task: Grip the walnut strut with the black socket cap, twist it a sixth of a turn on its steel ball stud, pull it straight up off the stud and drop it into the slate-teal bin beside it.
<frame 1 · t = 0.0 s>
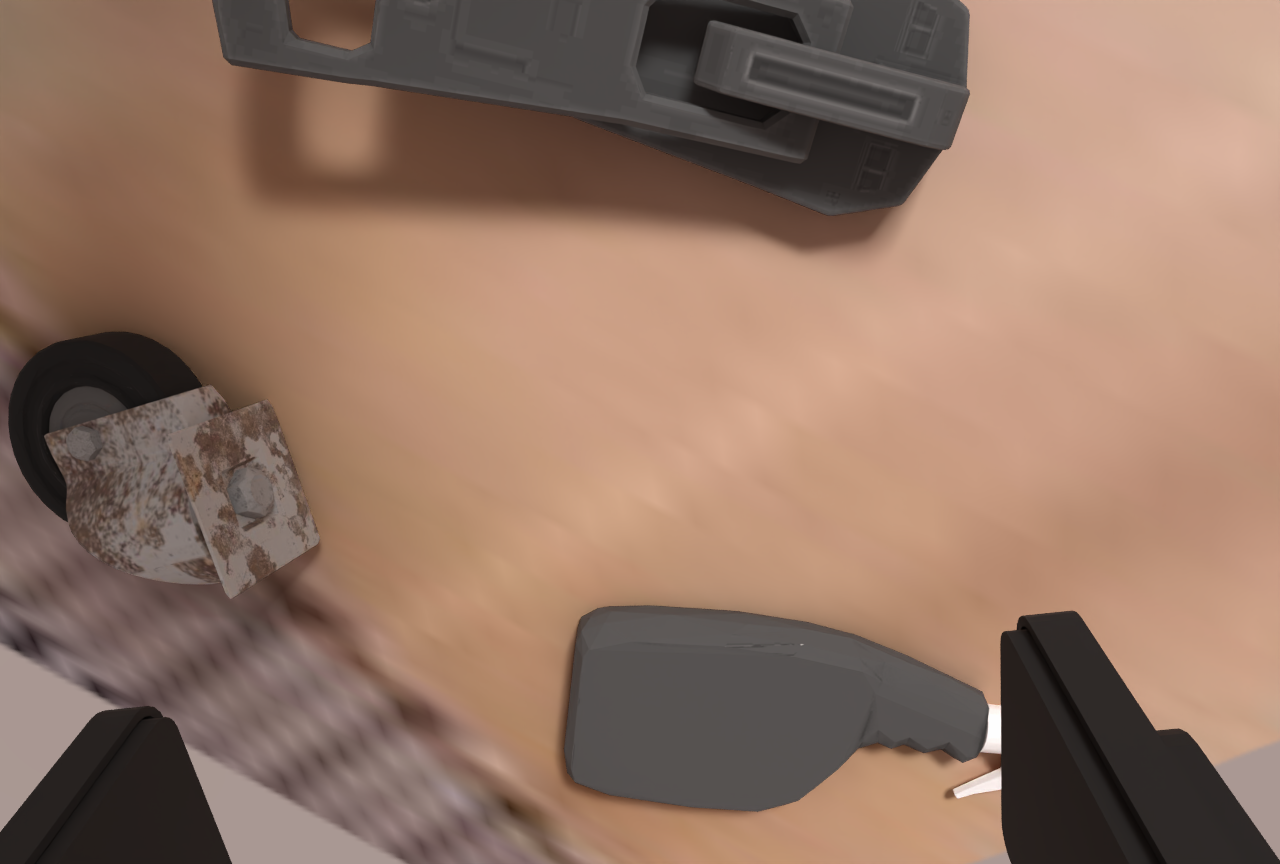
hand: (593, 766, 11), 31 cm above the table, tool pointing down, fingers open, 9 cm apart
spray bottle: (820, 703, 50), on the table
zipper pull: (621, 25, 38), on the table
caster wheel: (176, 438, 45), on the table
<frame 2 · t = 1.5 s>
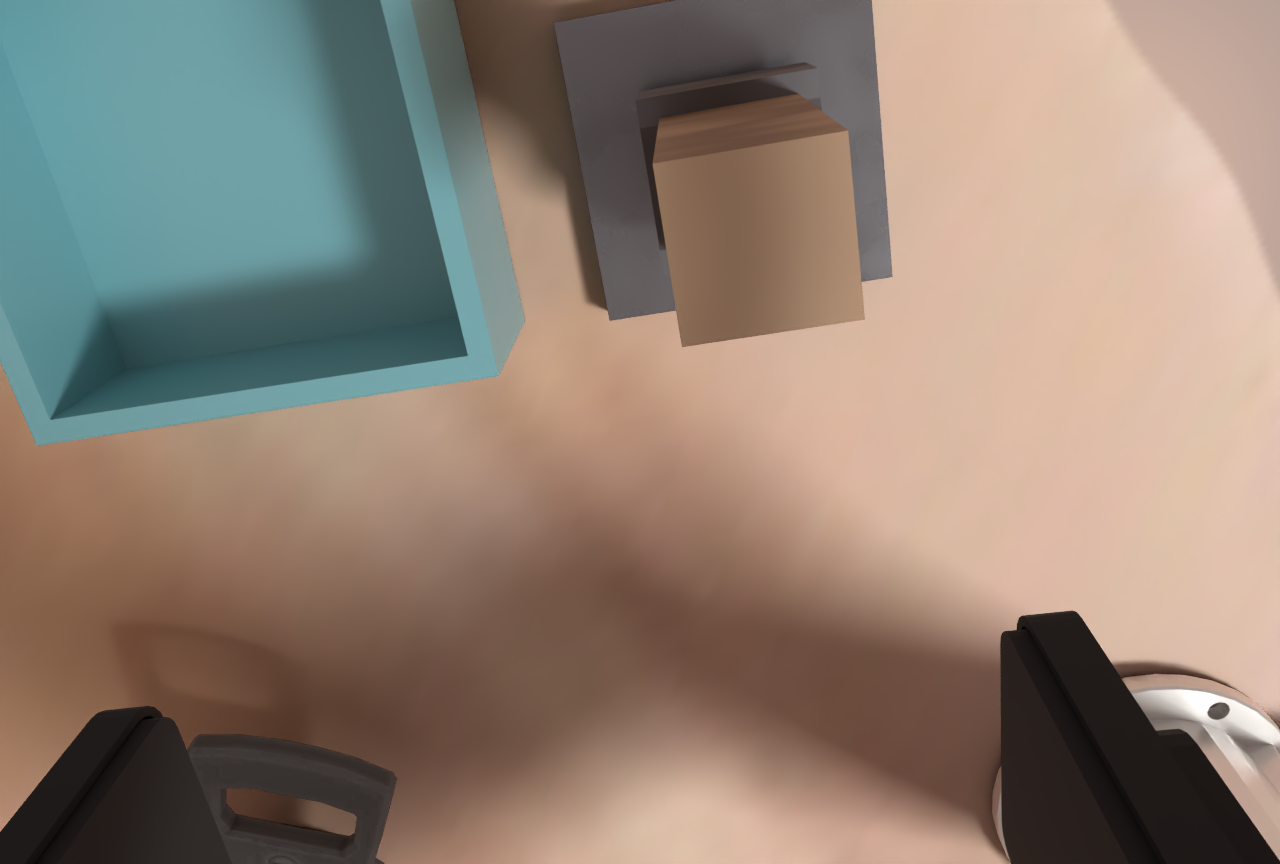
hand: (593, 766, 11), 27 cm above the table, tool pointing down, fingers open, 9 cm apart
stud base: (728, 151, 35), on the table
bin: (258, 140, 35), on the table
strut: (732, 161, 32), point 2 cm above the table, touching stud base
zipper pull: (317, 861, 49), on the table
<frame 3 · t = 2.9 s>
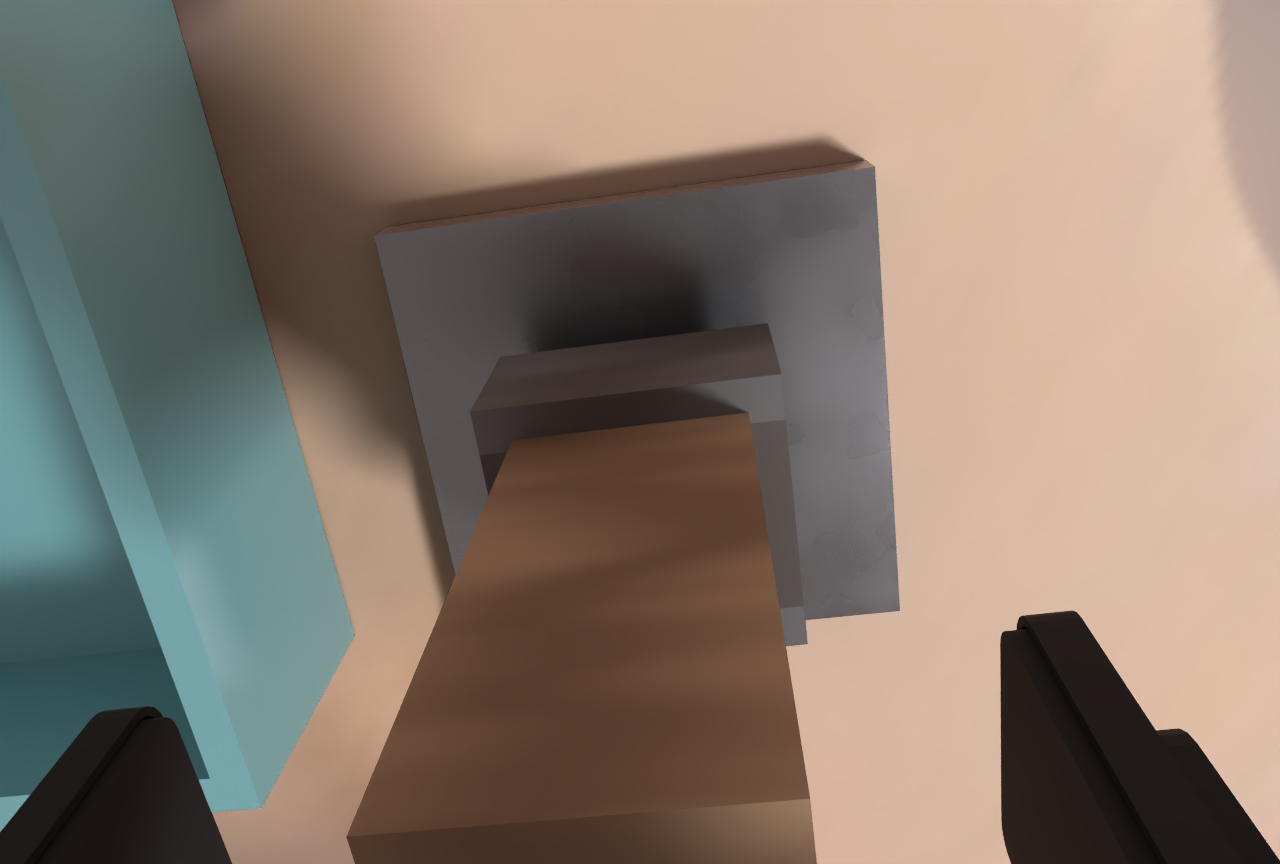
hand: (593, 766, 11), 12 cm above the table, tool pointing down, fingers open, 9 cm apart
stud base: (654, 418, 23), on the table
strut: (651, 463, 20), point 2 cm above the table, touching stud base
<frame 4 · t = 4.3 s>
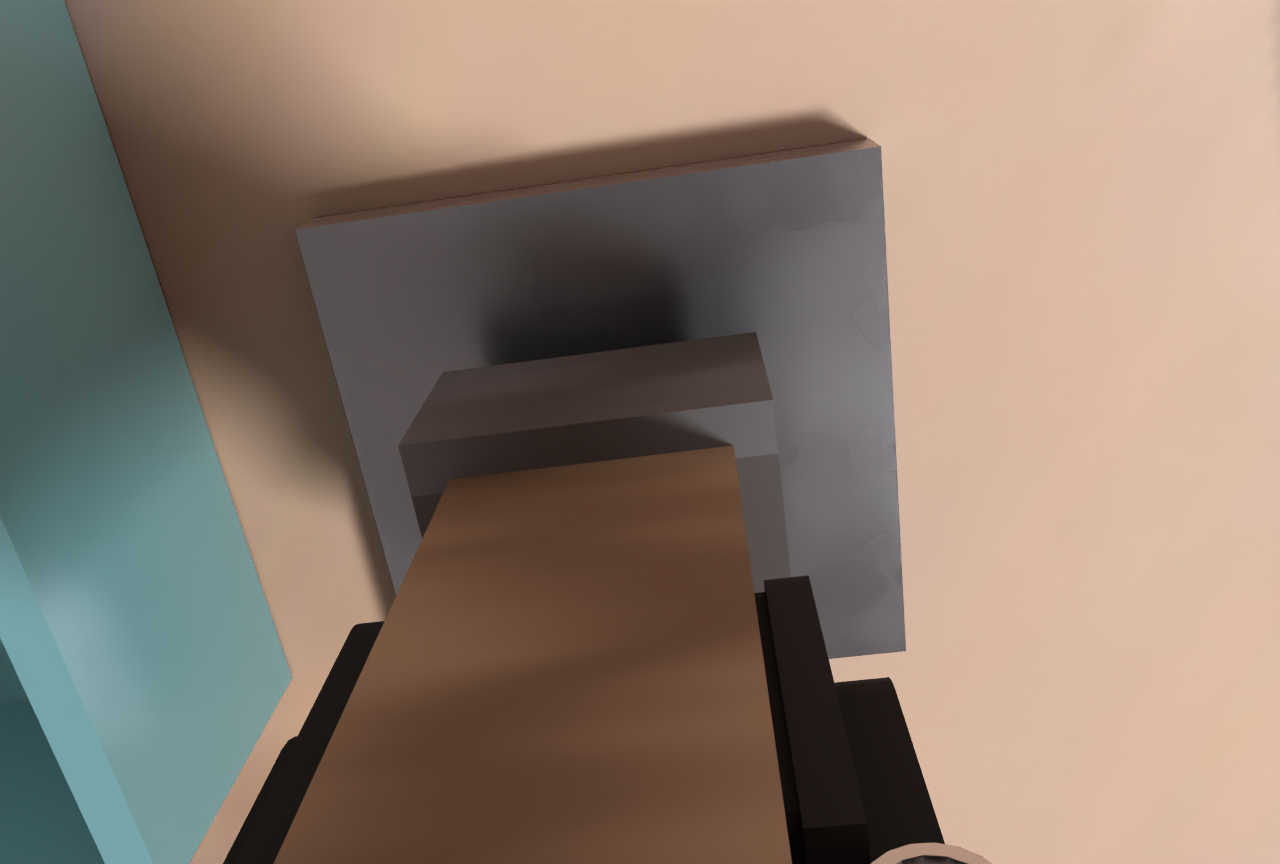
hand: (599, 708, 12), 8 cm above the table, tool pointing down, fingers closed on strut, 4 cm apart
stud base: (626, 435, 20), on the table
strut: (621, 493, 18), point 2 cm above the table, touching gripper, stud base
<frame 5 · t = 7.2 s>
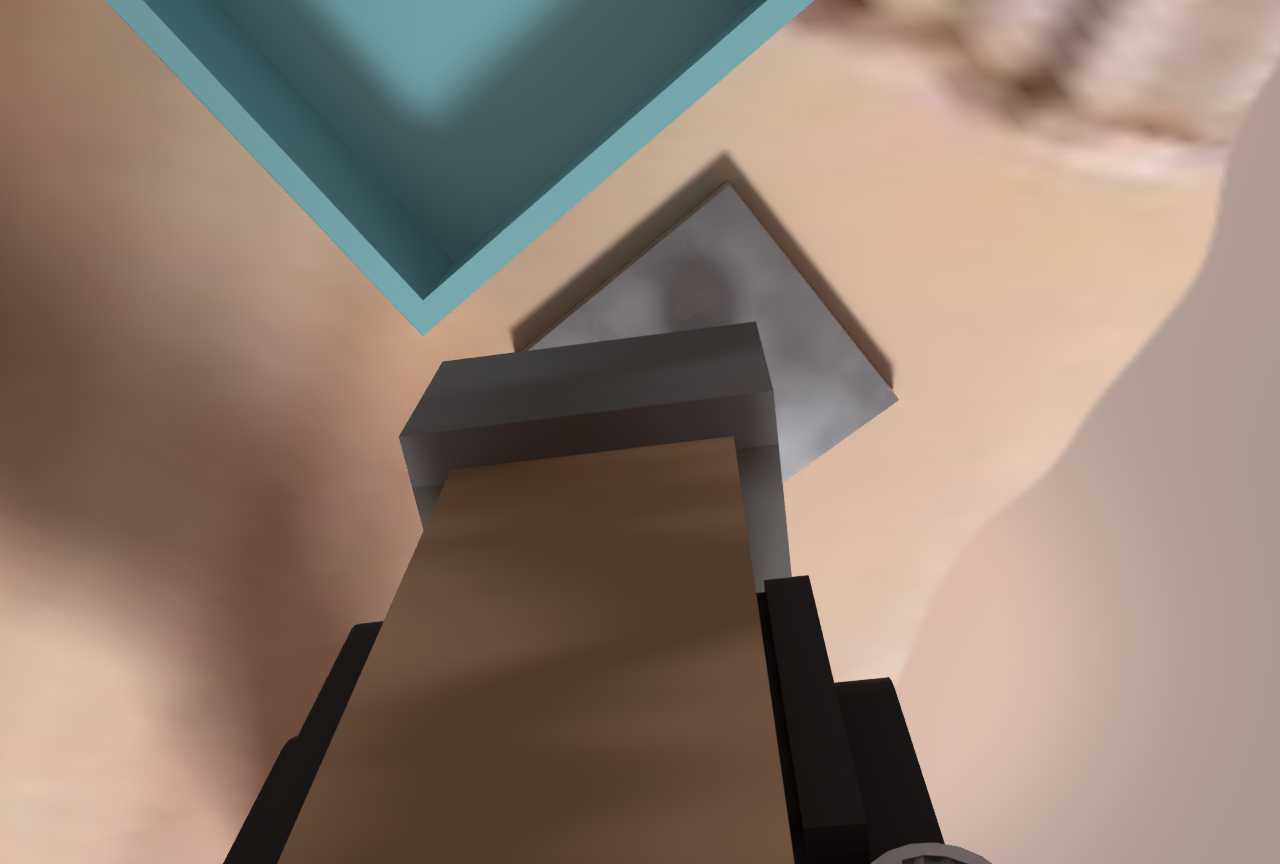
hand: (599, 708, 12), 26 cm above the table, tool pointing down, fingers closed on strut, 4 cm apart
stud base: (704, 373, 38), on the table
strut: (621, 482, 18), point 20 cm above the table, touching gripper
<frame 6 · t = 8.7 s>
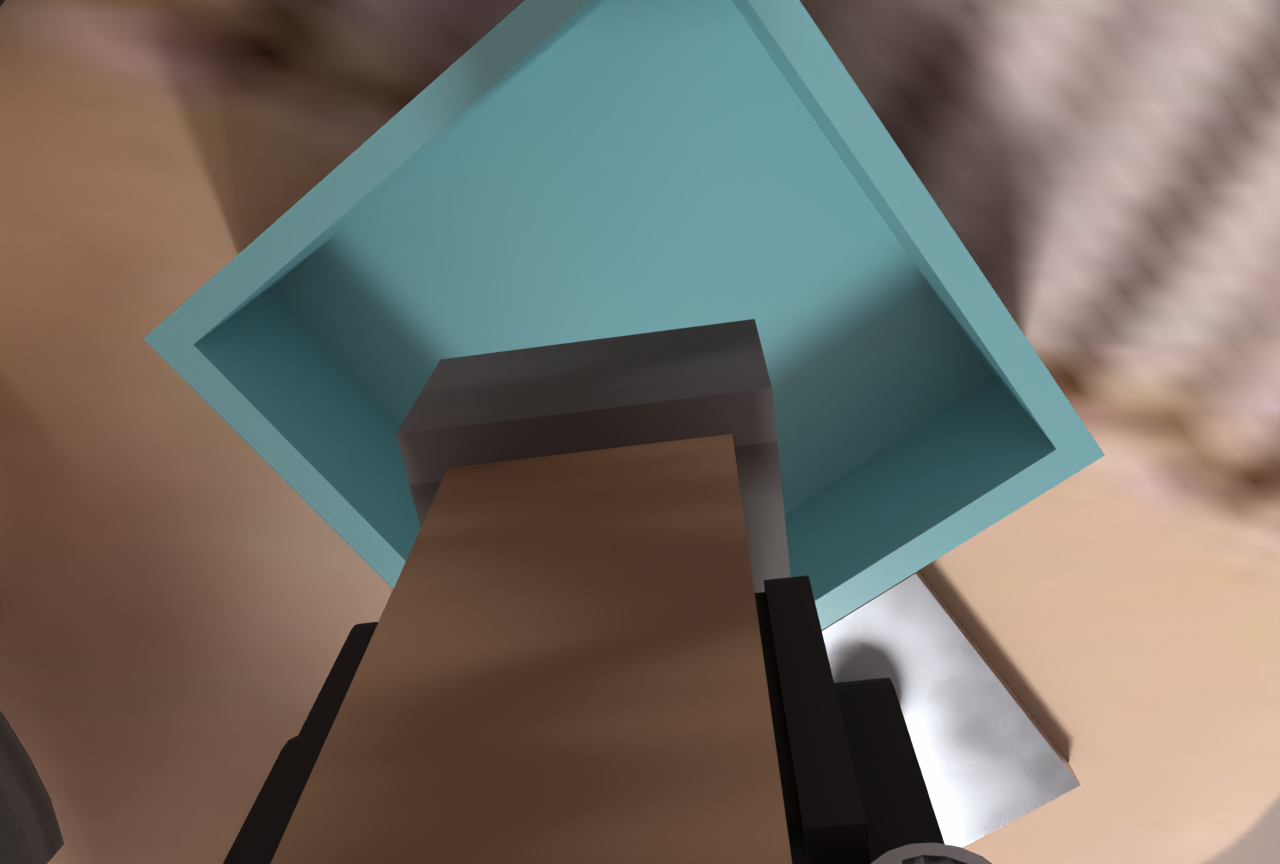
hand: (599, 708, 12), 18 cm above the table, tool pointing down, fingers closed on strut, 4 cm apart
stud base: (861, 740, 34), on the table
bin: (636, 323, 29), on the table
strut: (619, 480, 18), point 12 cm above the table, touching gripper
when the fingers open (9 cm above the table, at t = 9.9 s): strut drops 2 cm, resting on bin.
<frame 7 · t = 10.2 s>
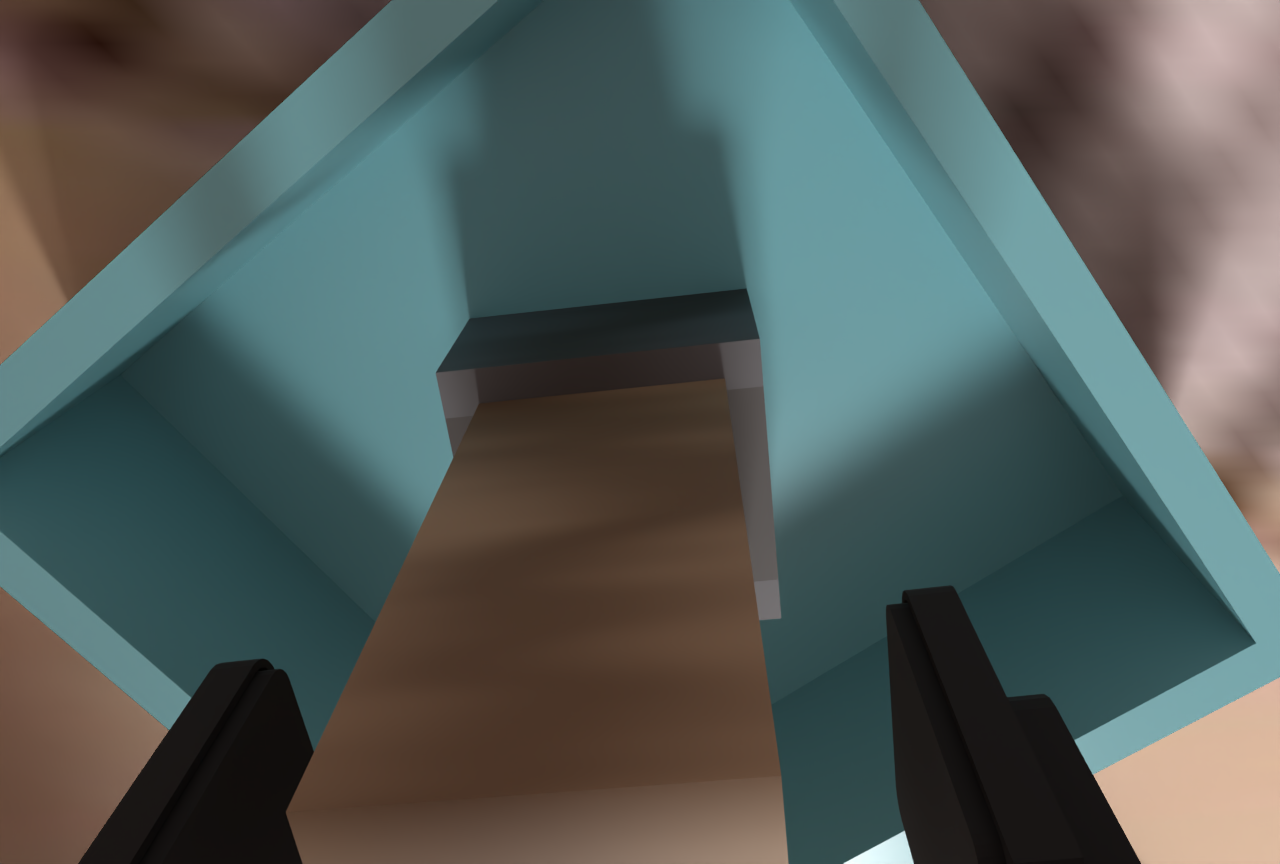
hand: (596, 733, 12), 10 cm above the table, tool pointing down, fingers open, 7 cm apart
bin: (628, 416, 21), on the table
strut: (624, 431, 20), point 1 cm above the table, touching bin
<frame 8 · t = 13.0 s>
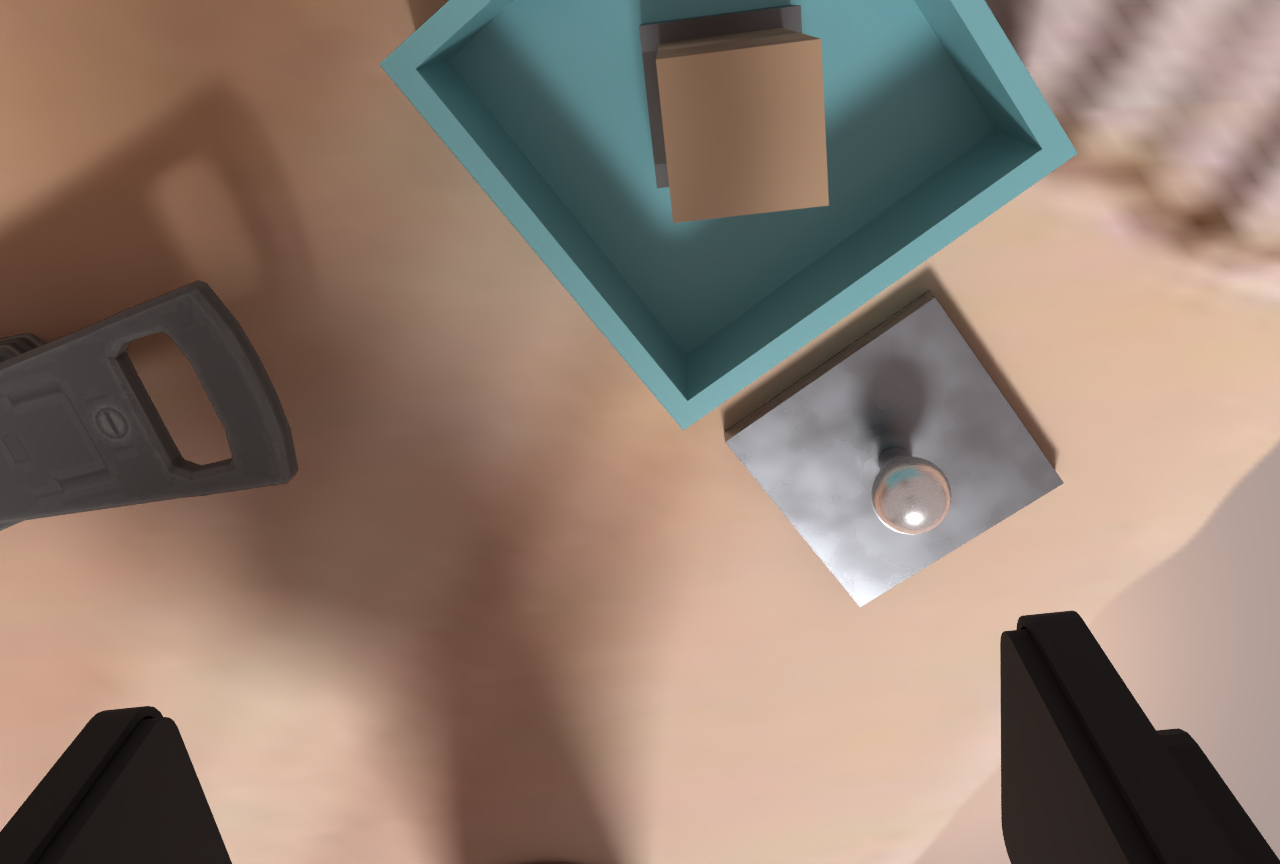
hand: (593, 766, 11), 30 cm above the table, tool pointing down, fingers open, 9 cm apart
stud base: (890, 452, 43), on the table
bin: (722, 92, 37), on the table
strut: (722, 92, 36), point 1 cm above the table, touching bin
zipper pull: (56, 408, 43), on the table
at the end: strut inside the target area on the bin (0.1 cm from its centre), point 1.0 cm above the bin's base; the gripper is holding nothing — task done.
